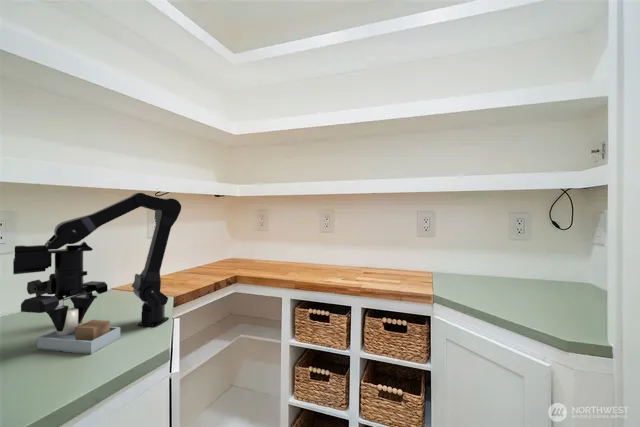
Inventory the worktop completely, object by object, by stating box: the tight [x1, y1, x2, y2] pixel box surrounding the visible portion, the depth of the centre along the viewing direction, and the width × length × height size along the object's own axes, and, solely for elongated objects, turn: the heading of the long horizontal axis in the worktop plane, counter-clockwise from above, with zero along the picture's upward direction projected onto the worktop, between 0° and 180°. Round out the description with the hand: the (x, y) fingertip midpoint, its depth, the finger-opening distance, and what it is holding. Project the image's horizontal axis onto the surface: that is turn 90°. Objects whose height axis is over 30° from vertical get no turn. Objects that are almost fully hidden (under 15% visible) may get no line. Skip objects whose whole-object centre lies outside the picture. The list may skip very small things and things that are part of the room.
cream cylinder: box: [55, 307, 78, 335], centre depth 77 cm, size 4×4×6 cm
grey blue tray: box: [36, 323, 121, 355], centre depth 77 cm, size 9×15×3 cm, turn 84°
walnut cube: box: [75, 319, 111, 341], centre depth 76 cm, size 5×5×5 cm
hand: (68, 327), depth 77 cm, fingers closed on cream cylinder, 4 cm apart
